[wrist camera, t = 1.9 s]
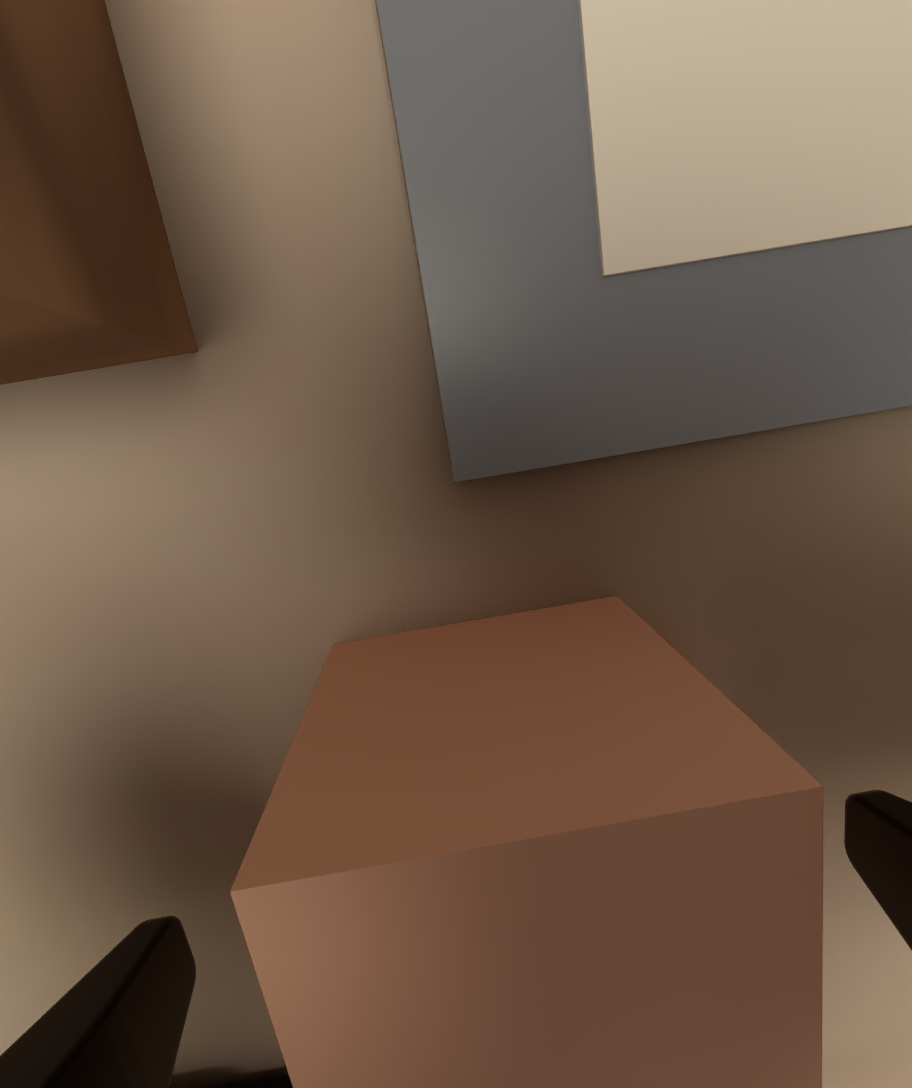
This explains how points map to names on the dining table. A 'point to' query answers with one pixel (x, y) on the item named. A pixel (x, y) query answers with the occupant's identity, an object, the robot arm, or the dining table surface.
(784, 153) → the grey flat plate
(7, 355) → the walnut block
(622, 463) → the dining table surface
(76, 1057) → the robot arm
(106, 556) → the dining table surface
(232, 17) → the dining table surface
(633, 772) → the terracotta block
